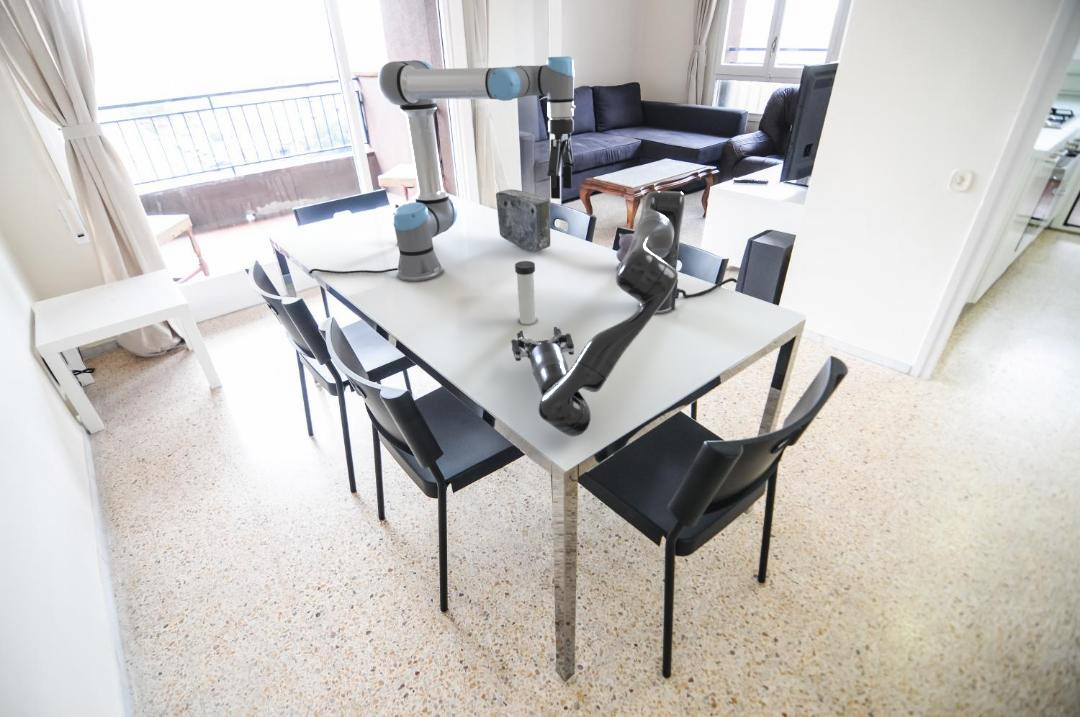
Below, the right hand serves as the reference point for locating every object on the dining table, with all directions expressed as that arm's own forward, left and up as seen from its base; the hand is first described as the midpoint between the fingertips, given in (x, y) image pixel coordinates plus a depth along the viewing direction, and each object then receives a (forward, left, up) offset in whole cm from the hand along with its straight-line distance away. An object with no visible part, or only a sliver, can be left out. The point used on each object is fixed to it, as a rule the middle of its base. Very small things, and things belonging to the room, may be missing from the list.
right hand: (538, 332), depth 123 cm
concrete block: (-9, -82, -7) cm, 83 cm away
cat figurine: (-40, -51, -7) cm, 65 cm away
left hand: (-16, -50, +21) cm, 57 cm away
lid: (0, -19, +10) cm, 22 cm away
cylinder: (0, -19, -7) cm, 20 cm away
